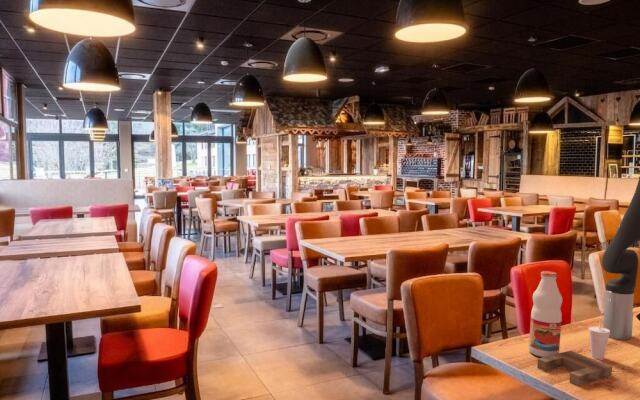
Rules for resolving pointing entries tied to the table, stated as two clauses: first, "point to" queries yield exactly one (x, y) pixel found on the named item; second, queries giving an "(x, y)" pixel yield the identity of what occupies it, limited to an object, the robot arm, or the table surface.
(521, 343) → the table surface
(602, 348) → the smoothie
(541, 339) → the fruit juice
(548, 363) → the notched board
